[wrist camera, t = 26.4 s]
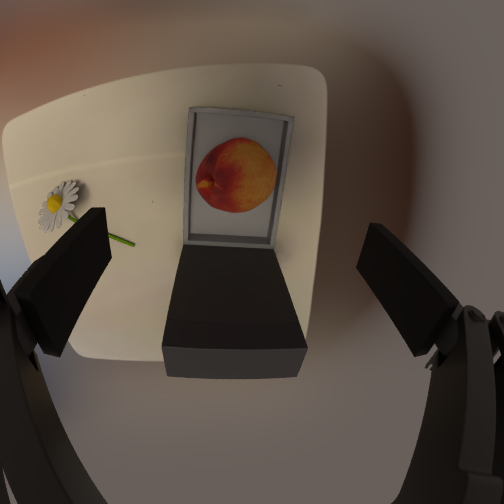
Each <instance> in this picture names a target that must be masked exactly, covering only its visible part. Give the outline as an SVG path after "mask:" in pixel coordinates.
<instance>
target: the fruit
mask: <svg viewBox="0 0 504 504" xmlns="http://www.w3.org/2000/svg"><path fill="white" fill-rule="evenodd" d="M276 178H277V170H276V166H275V164H274V161H273V159H272V158H271V156H270V154H269V153H268V152H267V151H266V150H265V149H264V148H263V147H262V146H261V145H260V144H259V143H257V142H255V141H252V140H250V139H247V138H242V137H241V138H234V139H230V140H228V141H226V142H224V143H222V144H220V145H218V146H216V147H215V148H213V149H212V150H211V151H210V152H209V153H208V154H207V155H206V156H205V157H204V159H203V160H202V162H201V163H200V165H199V167H198V170H197V173H196V177H195V182H196V188H197V190H198V192H199V194H200V195H201V197H202V198H203V199H204V200H205V201H206V202H207V203H208V204H209V205H210V206H211V207H213V208H216V209H219V210H222V211H226V212H230V213H241V212H247V211H250V210H252V209H254V208H256V207H257V206H259V205H260V204H261V203H263V202H264V201H265V200H266V199H267V198H268V197H269V196H270V194H271V193H272V191H273V189H274V186H275V182H276Z"/></svg>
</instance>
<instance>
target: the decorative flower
mask: <svg viewBox="0 0 504 504" xmlns="http://www.w3.org/2000/svg"><path fill="white" fill-rule="evenodd" d="M64 183H65V182H62V183H61V184H60V186H59V189H58V187H55V188H54V191H53V195H52V194H51V193H49V194H48V195H47V199H48V201H45V202H44V203H43V204H42V206H43V207H44V208H42V209H41V210H40V211H39V215H41V214H43V213H44V214H43V215H42V216H41V217H40V218H39V220H38V223H41V224H40V226H39V229H42V227H43V226H44V224H45V223H46V225H45V227H44V233H46V232H47V230H48V228H49V231H50V232H52V231H53V229H54V224H55V219H56V226H57V227H58V228H60V227H61V224H62V221H61V217H62V218H63V219H64V220H66V219H68V218H69V219H70V220H72V221H73V222H75V223H76V222H77V221H78V220H76V219H74V218H73V217H71V216H70V215H69V214H68V213H67V212H66V210H69V211H71V210H73V209H74V208H75V205H74V204H69V202H72V201H75V200H77V198H78V195H74V194H75V193H76V192H78V190H79V188H78V187H77V188H74V189H73V190H72V191H70V190H71V189H72V188H73V187H74V186H75V185H76V182H73V183H72V184H71V180H70V181H68V182H67V183H66V185H65V187H64ZM70 184H71V185H70ZM63 187H64V188H63ZM72 195H73V196H72ZM46 221H47V222H46ZM49 225H50V226H49ZM108 236H109V238H112V239H114V240H117V241H119V242H122V243H124V244H127V245H129V246H132V247H134V246H135V244H133V243H131V242H128V241H126V240H123V239H121V238H118V237H116V236H113V235H110V234H108Z"/></svg>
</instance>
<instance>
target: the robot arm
mask: <svg viewBox="0 0 504 504" xmlns="http://www.w3.org/2000/svg"><path fill="white" fill-rule="evenodd" d="M111 258H112V256H111V249H110V243H109V236H108V228H107V220H106V211H105V207H97V208H91V209H89V210H88V211H87V212H86V213H85V214H84V215H83V216H82V217H81V218H80V219H79V220H78V221H77V222H76V223H75V224H74V225H73V226H72V227H71V228H70V229H69V230H68V231H67V232H66V233H65V234H64V235H63V236H62V237H61V238H60V239H59V240H58V241H57V242H56V243H55V244H54V245H53V246H52V247H51V248H50V249H49V250H48V252H47V253H46V254H45V255H43V256H42V257H40V258H39V259H37V260H36V261H34V262H33V263H32V265H31V266H30V267H29V268H28V270H27V271H26V272H25V273H24V274H23V275H22V277H21V278H20V279H19V280H18V281H17V282H16V284H15V285H14V286H13V287H12V289H11V290H10V291H9V292H8V294H7V295H6V293H5V290H4V288H3V285H2V283H1V280H0V504H10V500H9V496H8V492H7V488H6V484H5V479H4V475H3V470H4V472H5V475H6V478H7V480H8V483H9V485H10V488H11V490H12V492H13V494H14V497H15V499H16V501H17V503H18V504H107V502H106V500H105V499H104V498H103V496H102V495H101V493H100V492H99V491H98V489H97V487H96V486H95V484H94V483H93V481H92V480H91V478H90V477H89V475H88V473H87V471H86V470H85V468H84V466H83V465H82V463H81V461H80V459H79V458H78V456H77V454H76V452H75V450H74V448H73V446H72V444H71V442H70V440H69V438H68V436H67V434H66V432H65V430H64V428H63V425H62V423H61V421H60V419H59V417H58V414H57V412H56V409H55V407H54V404H53V402H52V399H51V397H50V394H49V391H48V388H47V385H46V382H45V379H44V376H43V373H42V370H41V367H40V363H39V360H38V357H37V354H36V353H35V351H34V348H35V346H36V344H37V342H38V344H39V346H40V347H41V349H42V351H43V353H44V354H48V355H52V356H56V357H60V356H61V354H62V352H63V349H64V347H65V345H66V343H67V341H68V338H69V336H70V334H71V332H72V330H73V328H74V326H75V324H76V322H77V320H78V318H79V316H80V314H81V312H82V310H83V308H84V306H85V304H86V302H87V300H88V299H89V297H90V295H91V293H92V291H93V289H94V288H95V286H96V284H97V282H98V281H99V279H100V277H101V275H102V274H103V272H104V270H105V268H106V267H107V265H108V263H109V262H110V260H111ZM356 268H357V270H358V271H359V272H360V274H361V275H362V277H363V278H364V279H365V281H366V282H367V284H368V285H369V287H370V288H371V290H372V291H373V293H374V294H375V296H376V297H377V298H378V300H379V301H380V303H381V304H382V306H383V308H384V309H385V310H386V312H387V313H388V315H389V317H390V318H391V319H392V321H393V323H394V324H395V326H396V328H397V329H398V331H399V332H400V334H401V336H402V337H403V339H404V340H405V342H406V344H407V345H408V347H409V348H410V350H411V352H412V354H413V355H414V357H417V356H421V355H425V354H427V353H428V352H429V350H430V349H431V348H432V346H433V345H434V343H435V345H436V346H437V348H438V349H437V350H436V352H435V353H434V355H433V356H432V357H431V359H430V360H429V362H428V363H427V364H426V366H425V368H428V366H429V365H430V364H433V366H432V367H431V368H430V370H431V371H432V372H431V380H430V386H429V392H428V397H427V402H426V407H425V412H424V416H423V421H422V425H421V429H420V433H419V436H418V440H417V444H416V447H415V451H414V454H413V457H412V460H411V463H410V466H409V469H408V472H407V475H406V477H405V480H404V483H403V485H402V488H401V490H400V493H399V495H398V497H397V498H396V499H395V500H394V502H392V503H391V504H504V312H500V311H497V312H495V314H494V315H493V317H492V319H491V320H487V319H486V318H485V316H484V315H483V313H482V312H481V311H480V310H478V309H477V308H475V307H473V306H470V305H467V306H465V307H462V305H461V304H460V303H459V301H458V300H457V299H456V298H455V296H454V295H453V294H452V293H451V292H450V291H449V290H448V289H447V288H446V286H445V285H444V284H443V283H442V282H441V281H440V280H439V279H438V278H437V277H436V276H435V275H434V274H433V273H432V272H431V271H430V270H429V269H428V268H427V267H426V266H425V264H423V263H422V261H420V260H419V258H417V257H416V256H415V255H414V254H413V253H412V252H411V251H410V250H409V249H408V248H407V247H406V246H405V245H404V244H403V243H402V242H401V241H400V240H399V239H398V238H396V237H395V236H394V235H393V234H392V233H391V232H390V231H389V230H388V229H387V228H386V227H384V226H383V225H382V224H378V223H370V224H369V227H368V231H367V234H366V238H365V241H364V244H363V248H362V251H361V254H360V257H359V260H358V263H357V266H356ZM499 350H500V353H501V356H500V357H499V359H498V360H497V361H496V362H495V364H493V358H494V356H495V355H496V354H497V352H498V351H499ZM2 467H3V469H2Z"/></svg>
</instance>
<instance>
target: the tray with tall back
mask: <svg viewBox="0 0 504 504" xmlns="http://www.w3.org/2000/svg"><path fill="white" fill-rule="evenodd" d="M293 122H294V117H292V116H286V115H279V114H272V113H264V112H256V111H246V110H235V109H222V108H205V107H189V116H188V128H187V142H186V158H185V179H184V213H183V248H182V252H181V256H180V260H179V264H178V269H177V273H176V277H175V282H174V286H173V291H172V295H171V300H170V305H169V310H168V315H167V320H166V325H165V330H164V335H163V341H162V352H163V357H164V363H165V367H166V373H167V376H171V377H185V378H206V379H263V378H265V379H266V378H286V377H297V375H298V372H299V370H300V367H301V365H302V362H303V360H304V357H305V354H306V352H307V349H308V347H307V344H306V341H305V338H304V335H303V332H302V329H301V326H300V323H299V320H298V317H297V314H296V311H295V309H294V306H293V303H292V300H291V297H290V294H289V291H288V288H287V285H286V283H285V280H284V277H283V274H282V271H281V268H280V266H279V263H278V260H277V257H276V254H275V252H274V245H275V239H276V233H277V227H278V221H279V215H280V209H281V202H282V196H283V190H284V183H285V177H286V170H287V164H288V157H289V150H290V143H291V136H292V129H293ZM241 137H242V138H247V139H250V140H252V141H255V142H257V143H259V144H260V145H261V146H262V147H263V148H264V149H265V150H266V151H267V152H268V153H269V154H270V156H271V158H272V159H273V161H274V164H275V166H276V170H277V178H276V182H275V186H274V189H273V191H272V193H271V194H270V196H269V197H268V198H267V199H266V200H265V201H264V202H263V203H261V204H260V205H259V206H257V207H256V208H254V209H252V210H250V211H247V212H241V213H230V212H226V211H222V210H219V209H216V208H213V207H211V206H210V205H209V204H208V203H207V202H206V201H205V200H204V199H203V198H202V197H201V195H200V194H199V192H198V190H197V188H196V182H195V177H196V173H197V170H198V167H199V165H200V163H201V162H202V160H203V159H204V157H205V156H206V155H207V154H208V153H209V152H210V151H211V150H212V149H213V148H215V147H216V146H218V145H220V144H222V143H224V142H226V141H228V140H230V139H234V138H241Z"/></svg>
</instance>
